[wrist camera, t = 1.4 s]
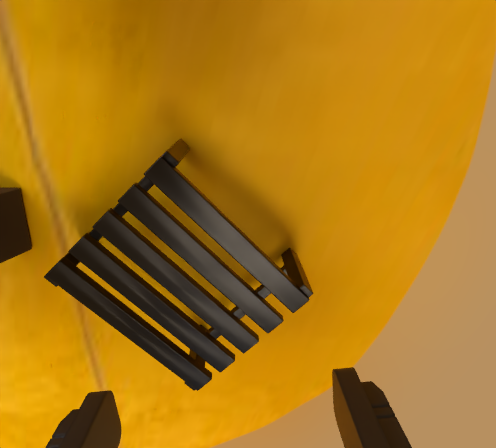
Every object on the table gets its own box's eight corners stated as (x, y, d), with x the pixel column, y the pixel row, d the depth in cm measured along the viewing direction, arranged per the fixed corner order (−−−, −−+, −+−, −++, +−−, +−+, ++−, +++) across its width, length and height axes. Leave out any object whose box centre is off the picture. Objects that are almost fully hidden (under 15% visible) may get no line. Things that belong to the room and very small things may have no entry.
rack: (81, 240, 35) (40, 279, 28) (180, 138, 32) (165, 151, 25) (200, 337, 39) (193, 394, 32) (297, 254, 37) (314, 296, 29)
